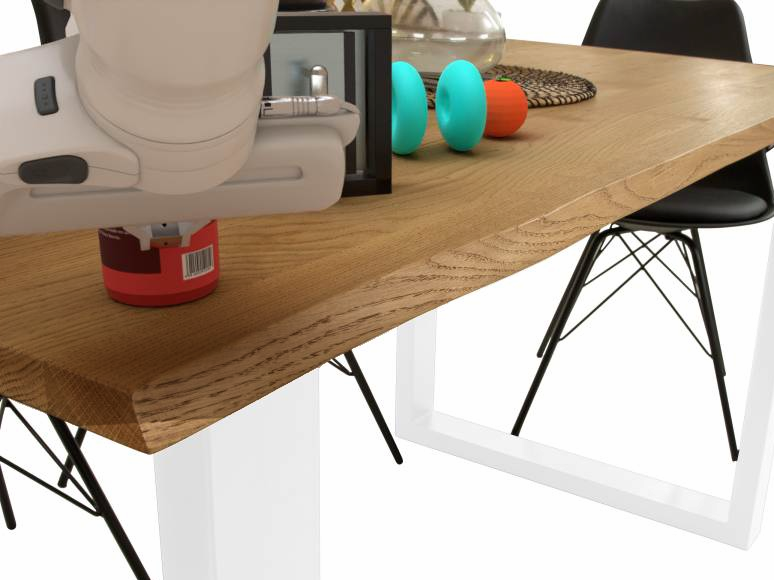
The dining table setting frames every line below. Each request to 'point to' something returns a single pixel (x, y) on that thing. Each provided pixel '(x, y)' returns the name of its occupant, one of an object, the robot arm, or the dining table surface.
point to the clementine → (504, 107)
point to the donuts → (438, 106)
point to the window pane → (313, 70)
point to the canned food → (159, 268)
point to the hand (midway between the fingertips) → (163, 238)
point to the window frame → (361, 90)
